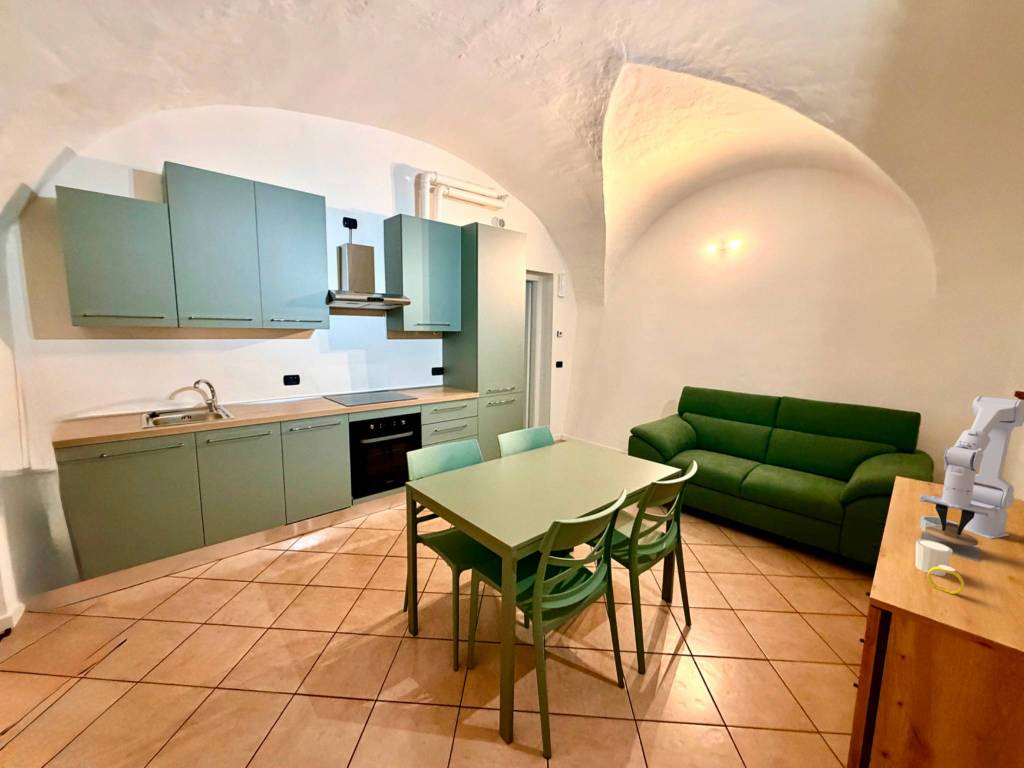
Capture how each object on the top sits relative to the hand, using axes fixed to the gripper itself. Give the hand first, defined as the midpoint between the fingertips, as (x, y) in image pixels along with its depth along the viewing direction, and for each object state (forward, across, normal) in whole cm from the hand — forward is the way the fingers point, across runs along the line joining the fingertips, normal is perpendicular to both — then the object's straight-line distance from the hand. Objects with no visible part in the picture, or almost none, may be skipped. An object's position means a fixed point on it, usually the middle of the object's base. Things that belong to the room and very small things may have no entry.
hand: (951, 532), depth 118 cm
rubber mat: (+5, 0, 0) cm, 5 cm away
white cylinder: (+5, -2, -22) cm, 23 cm away
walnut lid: (+1, 0, 0) cm, 1 cm away
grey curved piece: (+5, -3, +11) cm, 12 cm away
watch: (+5, 0, -32) cm, 33 cm away
